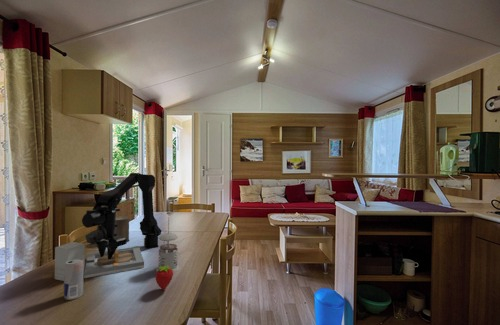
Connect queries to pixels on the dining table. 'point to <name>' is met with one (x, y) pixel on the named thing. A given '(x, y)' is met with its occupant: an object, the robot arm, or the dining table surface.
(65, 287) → the energy drink
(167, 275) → the strawberry
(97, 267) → the dial plate
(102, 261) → the dial
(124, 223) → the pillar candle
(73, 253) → the supplement box
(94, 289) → the dining table surface
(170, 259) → the french press
